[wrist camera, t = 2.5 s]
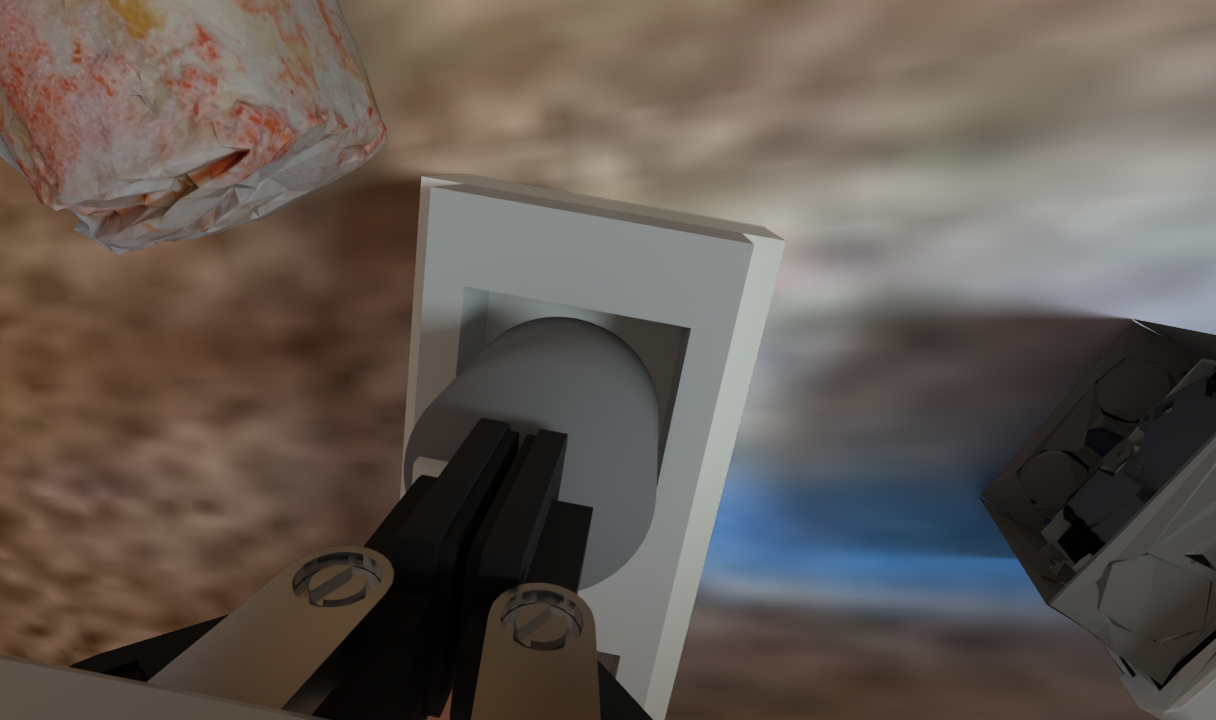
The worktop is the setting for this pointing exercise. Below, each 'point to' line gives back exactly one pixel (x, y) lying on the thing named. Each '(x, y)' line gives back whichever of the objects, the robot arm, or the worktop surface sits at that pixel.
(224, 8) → the food item
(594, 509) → the knob
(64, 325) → the worktop surface
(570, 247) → the knob panel
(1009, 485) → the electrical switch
